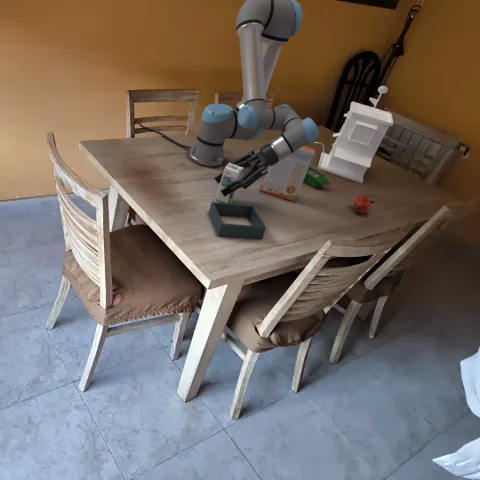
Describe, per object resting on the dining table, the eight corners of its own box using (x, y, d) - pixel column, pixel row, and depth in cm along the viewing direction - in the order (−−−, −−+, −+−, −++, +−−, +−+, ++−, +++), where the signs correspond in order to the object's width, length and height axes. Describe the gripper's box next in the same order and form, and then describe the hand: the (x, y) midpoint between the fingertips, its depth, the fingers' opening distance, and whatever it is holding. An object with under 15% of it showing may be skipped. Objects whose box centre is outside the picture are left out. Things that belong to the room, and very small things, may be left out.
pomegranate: (346, 216, 173) (372, 213, 166) (343, 198, 172) (369, 194, 165) (353, 213, 178) (378, 210, 171) (350, 195, 178) (375, 192, 171)
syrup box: (213, 202, 157) (224, 167, 149) (218, 196, 162) (229, 161, 154) (228, 208, 156) (240, 172, 148) (232, 201, 161) (244, 167, 152)
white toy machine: (363, 185, 196) (409, 99, 173) (304, 165, 202) (340, 79, 179) (363, 167, 215) (404, 87, 192) (309, 149, 221) (343, 69, 197)
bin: (218, 235, 140) (221, 224, 138) (208, 212, 151) (211, 201, 148) (261, 238, 144) (266, 227, 141) (249, 216, 154) (253, 205, 152)
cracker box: (295, 196, 174) (315, 148, 162) (294, 202, 169) (315, 154, 157) (262, 185, 177) (279, 137, 164) (259, 191, 172) (277, 142, 160)
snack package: (318, 192, 182) (323, 181, 178) (290, 174, 191) (295, 163, 188) (328, 189, 185) (333, 179, 182) (300, 172, 195) (305, 161, 192)
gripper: (290, 173, 143) (232, 210, 149) (268, 146, 160) (217, 179, 165) (281, 157, 139) (221, 195, 144) (260, 131, 155) (207, 166, 161)
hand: (219, 187), depth 155 cm, fingers open, 8 cm apart
